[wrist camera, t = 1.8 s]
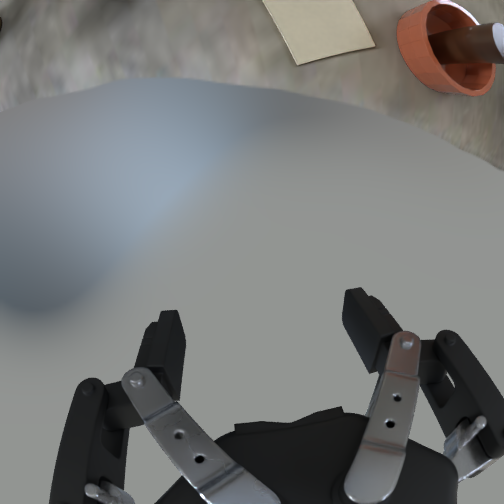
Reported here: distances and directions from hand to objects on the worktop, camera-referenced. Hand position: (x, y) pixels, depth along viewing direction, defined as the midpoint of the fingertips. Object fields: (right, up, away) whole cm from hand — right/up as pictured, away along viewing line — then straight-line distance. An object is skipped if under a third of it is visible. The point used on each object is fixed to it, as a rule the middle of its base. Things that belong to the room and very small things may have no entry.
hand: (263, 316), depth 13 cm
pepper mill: (+25, +31, +9) cm, 41 cm away
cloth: (+8, +31, +10) cm, 34 cm away
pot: (+25, +31, +10) cm, 41 cm away
